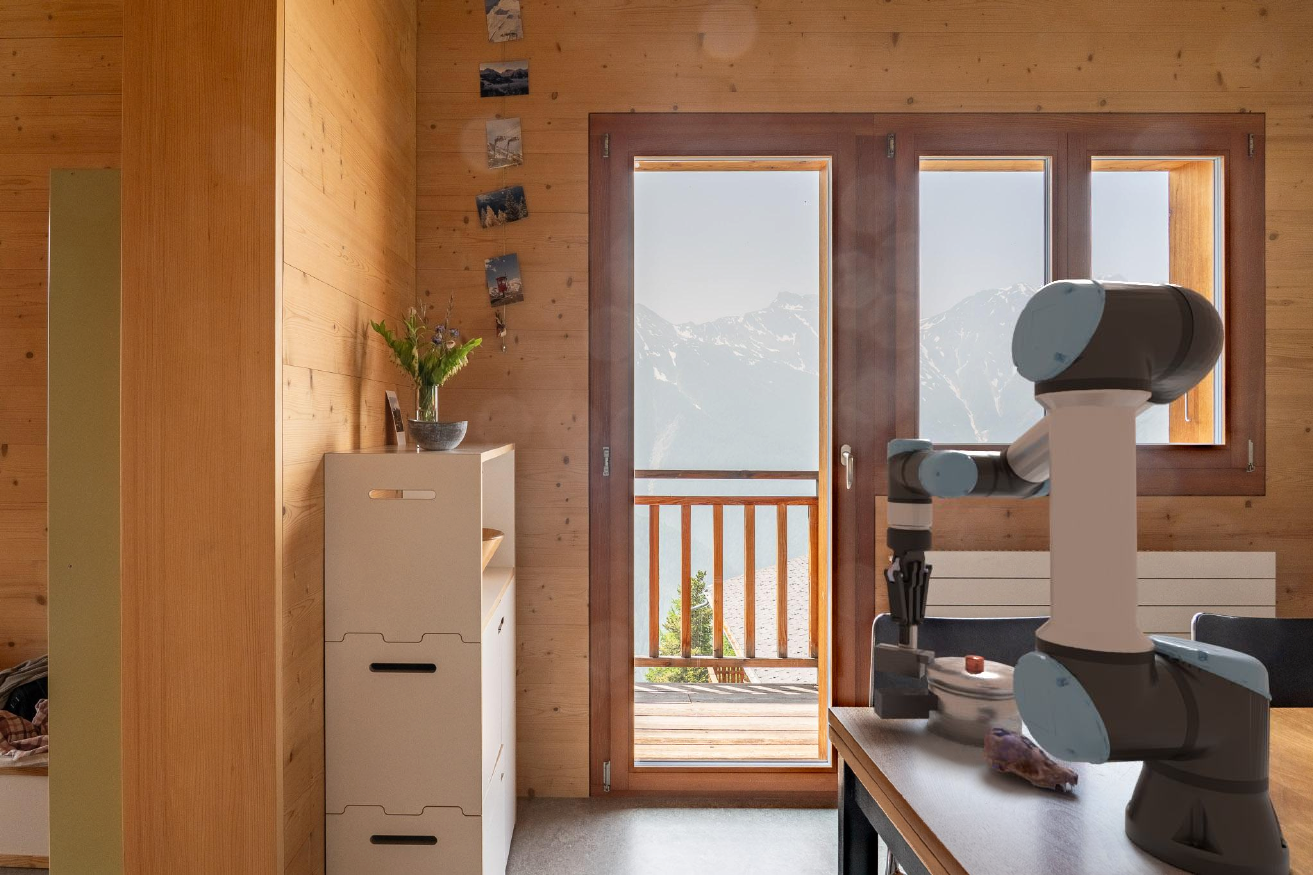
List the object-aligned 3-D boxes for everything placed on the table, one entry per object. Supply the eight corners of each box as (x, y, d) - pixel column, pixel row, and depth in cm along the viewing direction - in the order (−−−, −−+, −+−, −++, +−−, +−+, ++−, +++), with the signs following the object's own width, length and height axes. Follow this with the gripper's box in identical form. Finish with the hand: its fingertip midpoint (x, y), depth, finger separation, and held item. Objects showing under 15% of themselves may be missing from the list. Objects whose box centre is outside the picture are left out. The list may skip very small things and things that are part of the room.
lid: (1016, 708, 109) (1017, 677, 110) (861, 677, 123) (862, 649, 123) (1034, 684, 122) (1034, 656, 122) (891, 658, 136) (891, 633, 136)
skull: (1087, 790, 99) (1087, 744, 99) (1059, 805, 95) (1060, 757, 95) (1000, 759, 109) (1001, 717, 109) (971, 771, 104) (972, 728, 105)
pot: (1042, 748, 113) (1043, 695, 113) (895, 749, 112) (896, 695, 112) (993, 714, 128) (993, 668, 128) (861, 715, 126) (862, 668, 126)
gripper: (908, 523, 137) (906, 651, 136) (870, 526, 128) (868, 664, 127) (947, 526, 131) (945, 660, 131) (910, 530, 122) (908, 674, 122)
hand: (907, 662), depth 129 cm, fingers closed
